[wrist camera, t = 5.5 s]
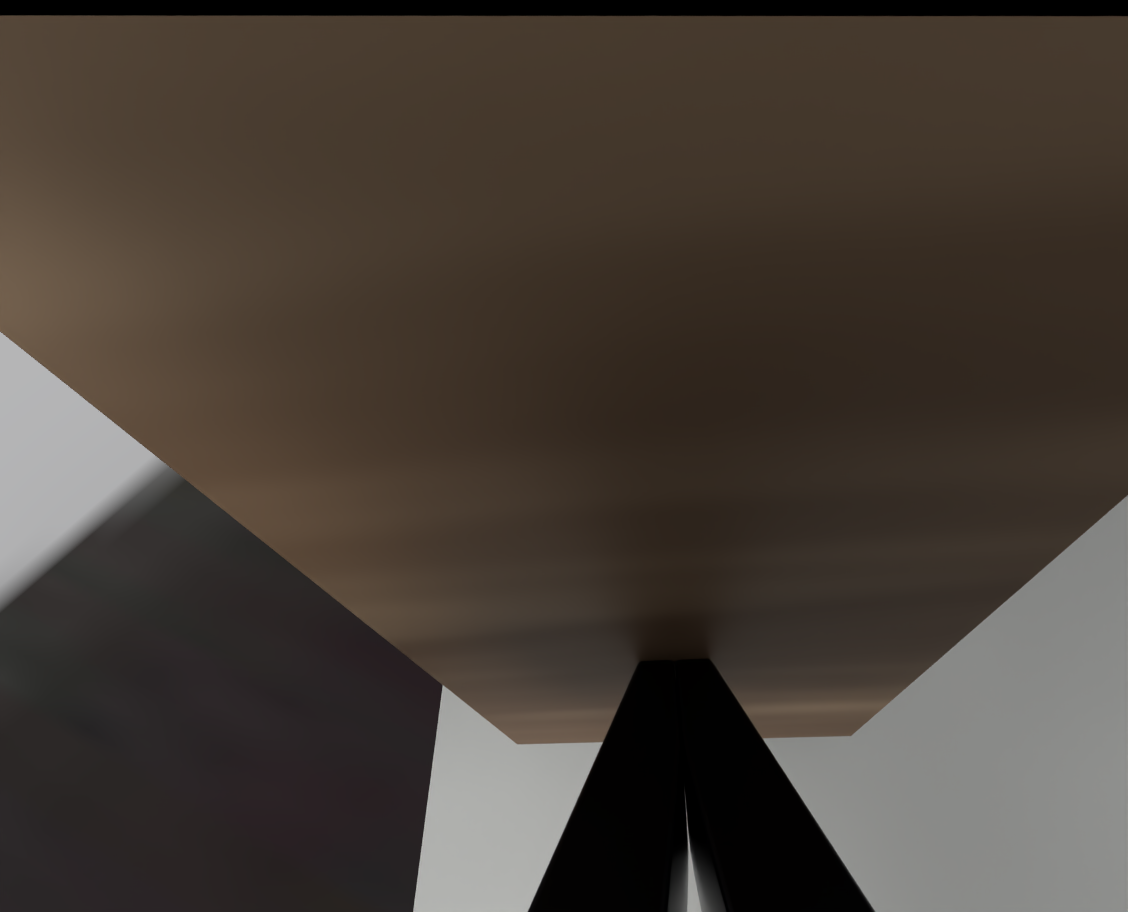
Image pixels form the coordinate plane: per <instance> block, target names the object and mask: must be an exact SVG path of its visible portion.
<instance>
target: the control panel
mask: <svg viewBox="0 0 1128 912" xmlns="http://www.w3.org/2000/svg"><path fill="white" fill-rule="evenodd" d="M763 740H764V742H765V743H766V745H767V746H768V748H769V749H770V751H771V752H772V754H773V755H774V757H775V758H776V760H777V761H778V763H779V765H780V766H781V768H782V769H783V771H784V772H785V774H786V775H787V777H788V778H789V780H790V781H791V783H792V785H793V786H794V788H795V789H796V791H797V792H798V794H799V795H800V797H801V798H802V800H803V801H804V803H805V804H806V806H807V808H808V809H809V811H810V812H811V814H812V815H813V817H814V818H815V820H816V821H817V823H818V824H819V826H820V827H821V829H822V831H823V832H824V834H825V835H826V837H827V838H828V840H829V841H830V843H831V844H832V846H833V847H834V849H835V851H836V852H837V854H838V855H839V857H840V858H841V860H842V861H843V863H844V864H845V866H846V867H847V869H848V870H849V872H850V874H851V875H852V877H853V878H854V880H855V881H856V883H857V884H858V886H859V887H860V889H861V890H862V892H863V893H864V895H865V897H866V898H867V900H868V901H869V903H870V904H871V906H872V907H873V909H874V910H875V912H1128V495H1127V496H1126V497H1125V498H1124V499H1123V500H1122V501H1121V502H1119V503H1118V504H1117V505H1116V506H1115V507H1114V508H1113V509H1111V510H1110V511H1109V512H1108V513H1107V514H1106V515H1104V516H1103V517H1102V518H1101V519H1100V520H1099V521H1098V522H1096V523H1095V524H1094V525H1093V526H1092V527H1091V528H1090V529H1088V530H1087V531H1086V532H1085V533H1084V534H1083V535H1081V536H1080V537H1079V538H1078V539H1077V540H1076V541H1075V542H1073V543H1072V544H1071V545H1070V546H1069V547H1068V548H1067V549H1065V550H1064V551H1063V552H1062V553H1061V554H1060V555H1058V556H1057V557H1056V558H1055V559H1054V560H1053V561H1052V562H1050V563H1049V564H1048V565H1047V566H1046V567H1045V568H1044V569H1042V570H1041V571H1040V572H1039V573H1038V574H1037V575H1036V576H1034V577H1033V578H1032V579H1031V580H1030V581H1029V582H1027V583H1026V584H1025V585H1024V586H1023V587H1022V588H1021V589H1019V590H1018V591H1017V592H1016V593H1015V594H1014V595H1013V596H1011V597H1010V598H1009V599H1008V600H1007V601H1006V602H1004V603H1003V604H1002V605H1001V606H1000V607H999V608H998V609H996V610H995V611H994V612H993V613H992V614H991V615H990V616H988V617H987V618H986V619H985V620H984V621H983V622H981V623H980V624H979V625H978V626H977V627H976V628H975V629H973V630H972V631H971V632H970V633H969V634H968V635H967V636H965V637H964V638H963V639H962V640H961V641H960V642H958V643H957V644H956V645H955V646H954V647H953V648H952V649H950V650H949V651H948V652H947V653H946V654H945V655H944V656H942V657H941V658H940V659H939V660H938V661H937V662H935V663H934V664H933V665H932V666H931V667H930V668H929V669H927V670H926V671H925V672H924V673H923V674H922V675H921V676H919V677H918V678H917V679H916V680H915V681H914V682H913V683H911V684H910V685H909V686H908V687H907V688H906V689H904V690H903V691H902V692H901V693H900V694H899V695H898V696H896V697H895V698H894V699H893V700H892V701H891V702H890V703H888V704H887V705H886V706H885V707H884V708H883V709H881V710H880V711H879V712H878V713H877V714H876V715H875V716H873V717H872V718H871V719H870V720H869V721H868V722H867V723H865V724H864V725H863V726H862V727H861V728H860V729H858V730H857V731H856V732H855V733H854V734H853V735H852V736H833V737H794V738H763ZM602 743H603V742H594V743H555V744H516V743H515V742H514V741H512V740H511V739H510V738H509V737H507V736H506V735H505V734H504V733H502V732H501V731H500V730H499V729H497V728H496V727H495V726H494V725H492V724H491V723H490V722H489V721H487V720H486V719H485V718H484V717H482V716H481V715H480V714H479V713H477V712H476V711H475V710H474V709H472V708H471V707H470V706H469V705H467V704H466V703H465V702H464V701H462V700H461V699H460V698H459V697H457V696H456V695H455V694H454V693H452V692H451V691H450V690H449V689H447V688H446V687H445V686H444V685H443V688H442V696H441V704H440V711H439V719H438V727H437V734H436V742H435V750H434V757H433V765H432V773H431V780H430V788H429V796H428V803H427V811H426V819H425V826H424V834H423V841H422V849H421V857H420V864H419V872H418V880H417V887H416V895H415V903H414V910H413V912H528V910H529V907H530V905H531V903H532V901H533V898H534V896H535V894H536V892H537V889H538V887H539V885H540V883H541V880H542V878H543V876H544V874H545V871H546V869H547V867H548V865H549V862H550V860H551V858H552V855H553V853H554V851H555V849H556V846H557V844H558V842H559V840H560V837H561V835H562V833H563V831H564V828H565V826H566V824H567V822H568V819H569V817H570V815H571V813H572V810H573V808H574V806H575V804H576V801H577V799H578V797H579V795H580V792H581V790H582V788H583V786H584V783H585V781H586V779H587V777H588V774H589V772H590V770H591V768H592V765H593V763H594V761H595V758H596V756H597V754H598V752H599V749H600V747H601V745H602ZM685 803H686V801H685ZM686 817H687V813H686ZM687 832H688V825H687ZM688 850H689V862H688V903H687V912H702V911H701V906H700V901H699V896H698V891H697V886H696V881H695V876H694V870H693V864H692V858H691V852H690V844H689V835H688Z"/></svg>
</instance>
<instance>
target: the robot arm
mask: <svg viewBox="0 0 1128 912" xmlns="http://www.w3.org/2000/svg"><path fill="white" fill-rule="evenodd" d="M675 674H676V677H675ZM685 801H686V803H685ZM686 813H687V817H686ZM687 825H688V832H687ZM688 835H689V844H690V852H691V858H692V864H693V870H694V876H695V881H696V886H697V891H698V896H699V901H700V906H701V911H702V912H875V910H874V909H873V907H872V906H871V904H870V903H869V901H868V900H867V898H866V897H865V895H864V893H863V892H862V890H861V889H860V887H859V886H858V884H857V883H856V881H855V880H854V878H853V877H852V875H851V874H850V872H849V870H848V869H847V867H846V866H845V864H844V863H843V861H842V860H841V858H840V857H839V855H838V854H837V852H836V851H835V849H834V847H833V846H832V844H831V843H830V841H829V840H828V838H827V837H826V835H825V834H824V832H823V831H822V829H821V827H820V826H819V824H818V823H817V821H816V820H815V818H814V817H813V815H812V814H811V812H810V811H809V809H808V808H807V806H806V804H805V803H804V801H803V800H802V798H801V797H800V795H799V794H798V792H797V791H796V789H795V788H794V786H793V785H792V783H791V781H790V780H789V778H788V777H787V775H786V774H785V772H784V771H783V769H782V768H781V766H780V765H779V763H778V761H777V760H776V758H775V757H774V755H773V754H772V752H771V751H770V749H769V748H768V746H767V745H766V743H765V742H764V740H763V738H762V737H761V735H760V734H759V732H758V731H757V729H756V728H755V726H754V725H753V723H752V722H751V720H750V719H749V717H748V715H747V714H746V712H745V711H744V709H743V708H742V706H741V705H740V703H739V702H738V700H737V699H736V697H735V695H734V694H733V692H732V691H731V689H730V688H729V686H728V685H727V683H726V682H725V680H724V679H723V677H722V676H721V674H720V672H719V671H718V669H717V668H716V666H715V665H714V663H713V662H712V661H711V660H710V659H681V660H677V661H676V662H675V666H674V662H673V661H671V660H655V661H640V662H639V663H638V664H637V666H636V668H635V671H634V673H633V675H632V677H631V680H630V682H629V684H628V686H627V689H626V691H625V693H624V695H623V698H622V700H621V702H620V704H619V707H618V709H617V711H616V713H615V716H614V718H613V720H612V722H611V725H610V727H609V729H608V731H607V734H606V736H605V738H604V740H603V743H602V745H601V747H600V749H599V752H598V754H597V756H596V758H595V761H594V763H593V765H592V768H591V770H590V772H589V774H588V777H587V779H586V781H585V783H584V786H583V788H582V790H581V792H580V795H579V797H578V799H577V801H576V804H575V806H574V808H573V810H572V813H571V815H570V817H569V819H568V822H567V824H566V826H565V828H564V831H563V833H562V835H561V837H560V840H559V842H558V844H557V846H556V849H555V851H554V853H553V855H552V858H551V860H550V862H549V865H548V867H547V869H546V871H545V874H544V876H543V878H542V880H541V883H540V885H539V887H538V889H537V892H536V894H535V896H534V898H533V901H532V903H531V905H530V907H529V910H528V912H687V903H688V862H689V850H688Z"/></svg>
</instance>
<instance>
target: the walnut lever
mask: <svg viewBox="0 0 1128 912" xmlns="http://www.w3.org/2000/svg"><path fill="white" fill-rule="evenodd" d="M0 332H1V333H3V334H4V335H5V336H6V337H8V338H9V339H10V340H11V341H13V342H14V343H15V344H17V345H18V346H19V347H20V348H21V349H23V350H24V351H25V352H26V353H28V354H29V355H30V356H31V357H33V358H34V359H35V360H37V361H38V362H39V363H40V364H42V365H43V366H44V367H46V368H47V369H48V370H49V371H50V372H52V373H53V374H54V375H55V376H57V377H58V378H59V379H60V380H62V381H63V382H64V383H65V384H67V385H68V386H69V387H70V388H72V389H73V390H74V391H75V392H77V393H78V394H79V395H80V396H82V397H83V398H84V399H85V400H87V401H88V402H89V403H90V404H92V405H93V406H94V407H95V408H97V409H98V410H99V411H100V412H102V413H103V414H104V415H105V416H107V417H108V418H109V419H111V420H112V421H113V422H114V423H115V424H117V425H118V426H119V427H121V428H122V429H123V430H124V431H125V432H127V433H128V434H129V435H130V436H132V437H133V438H134V439H136V440H137V441H138V442H139V443H140V444H142V445H143V446H144V447H145V448H147V449H148V450H149V451H150V452H152V453H153V454H154V455H155V456H157V457H158V458H159V459H160V460H162V461H163V462H164V463H166V464H167V465H168V466H169V467H171V468H172V469H173V470H174V471H176V472H177V473H178V474H179V475H181V476H182V477H183V478H184V479H186V480H187V481H188V482H189V483H191V484H192V485H193V486H194V487H196V488H197V489H198V490H199V491H201V492H202V493H203V494H204V495H206V496H207V497H208V498H209V499H211V500H212V501H213V502H214V503H216V504H217V505H218V506H219V507H221V508H222V509H223V510H224V511H226V512H227V513H228V514H229V515H231V516H232V517H233V518H234V519H236V520H237V521H238V522H239V523H241V524H242V525H243V526H244V527H246V528H247V529H248V530H249V531H251V532H252V533H253V534H254V535H256V536H257V537H258V538H259V539H261V540H262V541H263V542H264V543H266V544H267V545H268V546H269V547H271V548H272V549H273V550H274V551H276V552H277V553H278V554H279V555H281V556H282V557H283V558H284V559H286V560H287V561H288V562H289V563H291V564H292V565H293V566H294V567H296V568H297V569H298V570H300V571H301V572H302V573H303V574H305V575H306V576H307V577H308V578H310V579H311V580H312V581H313V582H315V583H316V584H317V585H318V586H320V587H321V588H322V589H323V590H325V591H326V592H327V593H328V594H330V595H331V596H332V597H333V598H335V599H336V600H337V601H338V602H340V603H341V604H342V605H343V606H345V607H346V608H347V609H348V610H350V611H351V612H352V613H353V614H355V615H356V616H357V617H358V618H360V619H361V620H362V621H363V622H365V623H366V624H367V625H368V626H370V627H371V628H372V629H373V630H375V631H376V632H377V633H378V634H380V635H381V636H382V637H383V638H385V639H386V640H387V641H388V642H390V643H391V644H392V645H393V646H395V647H396V648H397V649H398V650H400V651H401V652H402V653H403V654H405V655H406V656H407V657H408V658H410V659H411V660H412V661H413V662H415V663H416V664H417V665H418V666H420V667H421V668H422V669H424V670H425V671H426V672H427V673H429V674H430V675H431V676H432V677H434V678H435V679H436V680H437V681H439V682H440V683H441V684H442V685H444V686H445V687H446V688H447V689H449V690H450V691H451V692H452V693H454V694H455V695H456V696H457V697H459V698H460V699H461V700H462V701H464V702H465V703H466V704H467V705H469V706H470V707H471V708H472V709H474V710H475V711H476V712H477V713H479V714H480V715H481V716H482V717H484V718H485V719H486V720H487V721H489V722H490V723H491V724H492V725H494V726H495V727H496V728H497V729H499V730H500V731H501V732H502V733H504V734H505V735H506V736H507V737H509V738H510V739H511V740H512V741H514V742H515V743H516V744H555V743H594V742H603V740H604V738H605V736H606V734H607V731H608V729H609V727H610V725H611V722H612V720H613V718H614V716H615V713H616V711H617V709H618V707H619V704H620V702H621V700H622V698H623V695H624V693H625V691H626V689H627V686H628V684H629V682H630V680H631V677H632V675H633V673H634V671H635V668H636V666H637V664H638V663H639V662H640V661H655V660H671V661H673V662H674V666H675V662H676V661H677V660H681V659H710V660H711V661H712V662H713V663H714V665H715V666H716V668H717V669H718V671H719V672H720V674H721V676H722V677H723V679H724V680H725V682H726V683H727V685H728V686H729V688H730V689H731V691H732V692H733V694H734V695H735V697H736V699H737V700H738V702H739V703H740V705H741V706H742V708H743V709H744V711H745V712H746V714H747V715H748V717H749V719H750V720H751V722H752V723H753V725H754V726H755V728H756V729H757V731H758V732H759V734H760V735H761V737H762V738H794V737H833V736H852V735H853V734H854V733H855V732H856V731H857V730H858V729H860V728H861V727H862V726H863V725H864V724H865V723H867V722H868V721H869V720H870V719H871V718H872V717H873V716H875V715H876V714H877V713H878V712H879V711H880V710H881V709H883V708H884V707H885V706H886V705H887V704H888V703H890V702H891V701H892V700H893V699H894V698H895V697H896V696H898V695H899V694H900V693H901V692H902V691H903V690H904V689H906V688H907V687H908V686H909V685H910V684H911V683H913V682H914V681H915V680H916V679H917V678H918V677H919V676H921V675H922V674H923V673H924V672H925V671H926V670H927V669H929V668H930V667H931V666H932V665H933V664H934V663H935V662H937V661H938V660H939V659H940V658H941V657H942V656H944V655H945V654H946V653H947V652H948V651H949V650H950V649H952V648H953V647H954V646H955V645H956V644H957V643H958V642H960V641H961V640H962V639H963V638H964V637H965V636H967V635H968V634H969V633H970V632H971V631H972V630H973V629H975V628H976V627H977V626H978V625H979V624H980V623H981V622H983V621H984V620H985V619H986V618H987V617H988V616H990V615H991V614H992V613H993V612H994V611H995V610H996V609H998V608H999V607H1000V606H1001V605H1002V604H1003V603H1004V602H1006V601H1007V600H1008V599H1009V598H1010V597H1011V596H1013V595H1014V594H1015V593H1016V592H1017V591H1018V590H1019V589H1021V588H1022V587H1023V586H1024V585H1025V584H1026V583H1027V582H1029V581H1030V580H1031V579H1032V578H1033V577H1034V576H1036V575H1037V574H1038V573H1039V572H1040V571H1041V570H1042V569H1044V568H1045V567H1046V566H1047V565H1048V564H1049V563H1050V562H1052V561H1053V560H1054V559H1055V558H1056V557H1057V556H1058V555H1060V554H1061V553H1062V552H1063V551H1064V550H1065V549H1067V548H1068V547H1069V546H1070V545H1071V544H1072V543H1073V542H1075V541H1076V540H1077V539H1078V538H1079V537H1080V536H1081V535H1083V534H1084V533H1085V532H1086V531H1087V530H1088V529H1090V528H1091V527H1092V526H1093V525H1094V524H1095V523H1096V522H1098V521H1099V520H1100V519H1101V518H1102V517H1103V516H1104V515H1106V514H1107V513H1108V512H1109V511H1110V510H1111V509H1113V508H1114V507H1115V506H1116V505H1117V504H1118V503H1119V502H1121V501H1122V500H1123V499H1124V498H1125V497H1126V496H1127V495H1128V0H0ZM675 677H676V674H675Z"/></svg>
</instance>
